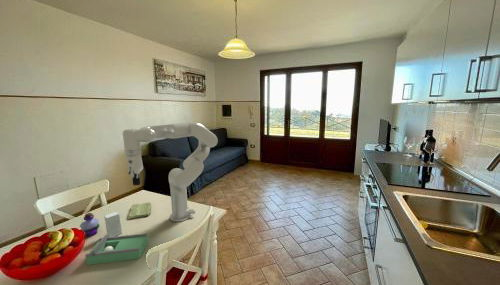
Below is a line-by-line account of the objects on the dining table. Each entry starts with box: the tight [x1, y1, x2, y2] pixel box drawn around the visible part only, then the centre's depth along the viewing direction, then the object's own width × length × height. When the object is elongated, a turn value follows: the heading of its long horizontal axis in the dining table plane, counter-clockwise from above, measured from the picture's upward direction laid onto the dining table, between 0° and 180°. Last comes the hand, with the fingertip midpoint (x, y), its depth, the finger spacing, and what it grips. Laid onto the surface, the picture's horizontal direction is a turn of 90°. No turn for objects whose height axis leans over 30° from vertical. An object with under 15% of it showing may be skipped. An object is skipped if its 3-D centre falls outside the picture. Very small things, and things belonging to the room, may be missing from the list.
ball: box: [104, 246, 114, 251], centre depth 98 cm, size 4×4×4 cm
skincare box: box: [104, 211, 123, 237], centre depth 113 cm, size 6×4×12 cm
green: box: [84, 232, 149, 266], centre depth 99 cm, size 22×12×6 cm, turn 100°
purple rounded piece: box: [79, 212, 100, 238], centre depth 114 cm, size 9×9×12 cm
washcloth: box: [127, 201, 152, 220], centre depth 138 cm, size 13×18×3 cm
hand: (136, 184), depth 114 cm, fingers closed
